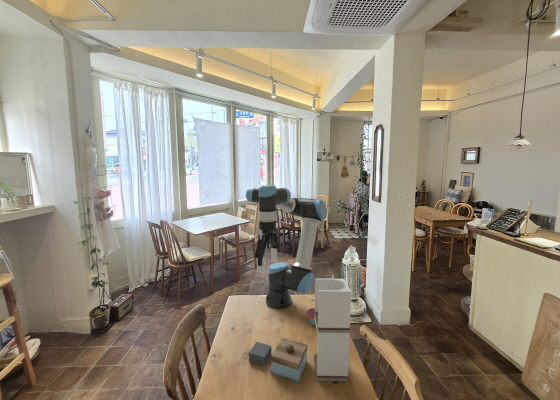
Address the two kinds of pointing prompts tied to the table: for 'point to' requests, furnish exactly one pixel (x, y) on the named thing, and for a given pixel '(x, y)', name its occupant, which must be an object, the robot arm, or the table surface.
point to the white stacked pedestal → (332, 329)
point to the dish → (288, 370)
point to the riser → (260, 353)
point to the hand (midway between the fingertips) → (267, 266)
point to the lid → (289, 353)
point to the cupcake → (311, 316)
